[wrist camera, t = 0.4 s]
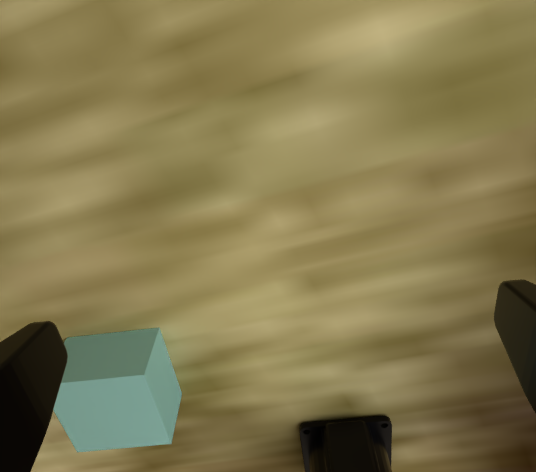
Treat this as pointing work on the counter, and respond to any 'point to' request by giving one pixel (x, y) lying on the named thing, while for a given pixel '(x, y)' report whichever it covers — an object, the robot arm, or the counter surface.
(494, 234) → the counter surface
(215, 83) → the counter surface
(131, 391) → the teal block
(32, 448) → the robot arm
